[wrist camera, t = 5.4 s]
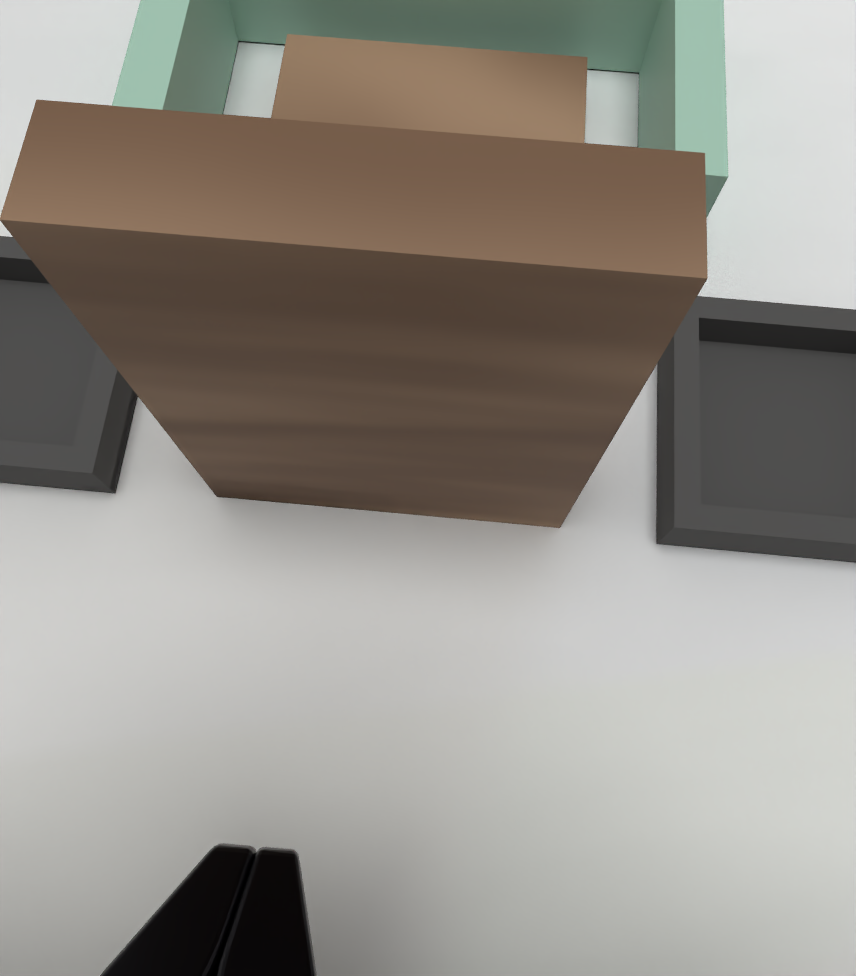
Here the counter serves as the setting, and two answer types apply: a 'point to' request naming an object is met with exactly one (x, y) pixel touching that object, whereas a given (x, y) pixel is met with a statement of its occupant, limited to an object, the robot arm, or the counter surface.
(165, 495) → the counter surface
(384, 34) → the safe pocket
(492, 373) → the bookend
